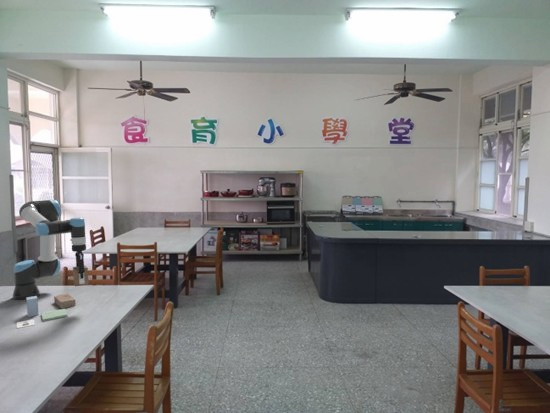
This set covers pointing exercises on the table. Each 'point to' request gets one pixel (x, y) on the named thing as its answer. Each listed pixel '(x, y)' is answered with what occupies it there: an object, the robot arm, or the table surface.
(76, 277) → the walnut block
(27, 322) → the page
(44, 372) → the table surface
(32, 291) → the robot arm
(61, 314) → the pad
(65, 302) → the brick
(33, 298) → the bluegrey block
